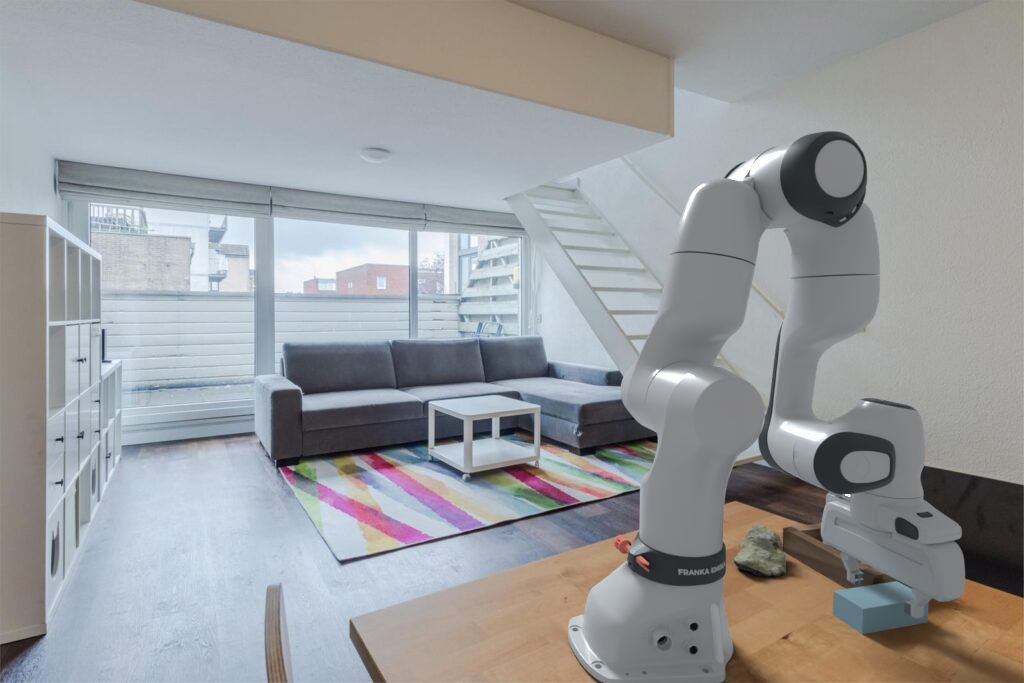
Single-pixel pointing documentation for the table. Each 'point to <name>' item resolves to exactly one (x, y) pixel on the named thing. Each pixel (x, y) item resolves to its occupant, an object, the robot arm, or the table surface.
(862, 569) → the frame
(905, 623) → the light blue rectangular block
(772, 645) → the table surface
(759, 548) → the rock
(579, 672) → the table surface
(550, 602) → the table surface
